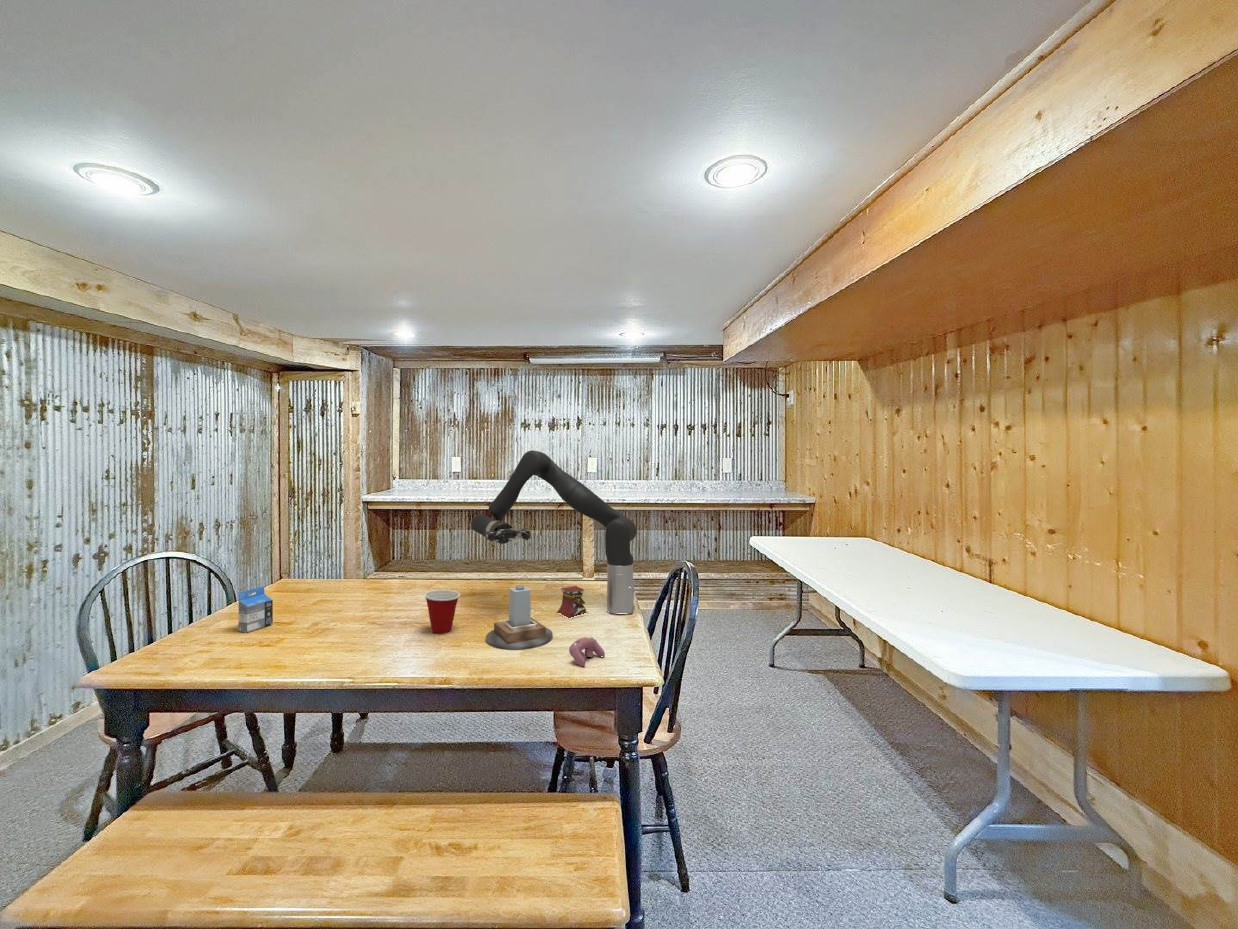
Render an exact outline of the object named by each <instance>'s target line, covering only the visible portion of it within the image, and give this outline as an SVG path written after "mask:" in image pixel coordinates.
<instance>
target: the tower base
mask: <svg viewBox="0 0 1238 929" xmlns="http://www.w3.org/2000/svg"><path fill="white" fill-rule="evenodd" d="M553 634H554V633H553V631H552V630H551V629H549V628H548V627H546V626H544V625H543V624H541V623H540V622H539V621H537V620H536V619H535V618H533V617H531V624H530V625H524V626H518V627H512V626H511V625H510V624H509V619H504V620H501V621H497V622H494V623H493V629H492V630H490V631H489V632H487V634H486V635H485V642H486V644H487V645H488V646H490V645H491V646H490V647H492V646H493V647H492V648H495V647H496V648H495V649H500V650H507V651H508V650H509V651H516V650H519V651H521V650H529V649H534V648H535V649H536V648H539V647H541V645H542V646H544V645H543V644H545V645H546V644H548V643H550V642H551V641H552V640H553V636H554V635H553ZM551 639H552V640H551ZM538 646H539V647H538Z"/></svg>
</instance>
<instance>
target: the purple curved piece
mask: <svg viewBox="0 0 1238 929" xmlns="http://www.w3.org/2000/svg"><path fill="white" fill-rule="evenodd" d="M568 650H569V655H570V656H571V657H572V658H573V660H574V661H575V663H576V664H577V665H578V664H579V665H578V666H580V665H581V666H584V667H585V666H586V661H585V660H586V657H591V658H592V657H593V656H594V653H595V654H596V656H598V657H600V656H604V657H605V655H606V653H605V651H604V649H603V647H602V646H601V645H600V644H599V642H598V641H597V639H595V638H594V637H592V636H591V637H590V636H587V637H586V636H585V637H581V638H578V639H577V640H575V641H574V642H572V644H571V645H570V646H569V648H568ZM583 650H584V651H583ZM581 666H580V667H581Z"/></svg>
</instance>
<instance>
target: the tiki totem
mask: <svg viewBox="0 0 1238 929" xmlns="http://www.w3.org/2000/svg"><path fill="white" fill-rule="evenodd" d="M561 591H562V599H561V605H560V607H559V608H558V610H557V611H556V614H557V613H561V614H562V615H564V616H566V617H568V618H571V617H574V616H577V615H581V614H584V613H587V614H588V612H587V611H586V610H587V609H586V606H585V604H586V602H585V600H584V599H583V598H582V597H583V594H584V591H585V590H584V588H582V587H580V586H577V585H574V586H566V587H561Z"/></svg>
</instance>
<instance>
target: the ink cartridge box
mask: <svg viewBox="0 0 1238 929" xmlns="http://www.w3.org/2000/svg"><path fill="white" fill-rule="evenodd" d="M251 593H253V594H251ZM250 594H251V595H250ZM273 606H274V603H273V599H272V598H271V597H270V596H268V595H267V594H265V586H259V587H257V588H253V589H249V590H248V589H246V590H243V591H240V592H238V632H239V633H244V632H248V633H251V632H254V630H255V631H257V629H258V630H261V629H263V628H262V627H264V628H266V627H265V626H267V627H271V626H273V624H274V622H273V621H274V619H273V618H274V616H273V615H274V614H273V612H274V610H273ZM260 628H261V629H260Z"/></svg>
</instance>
